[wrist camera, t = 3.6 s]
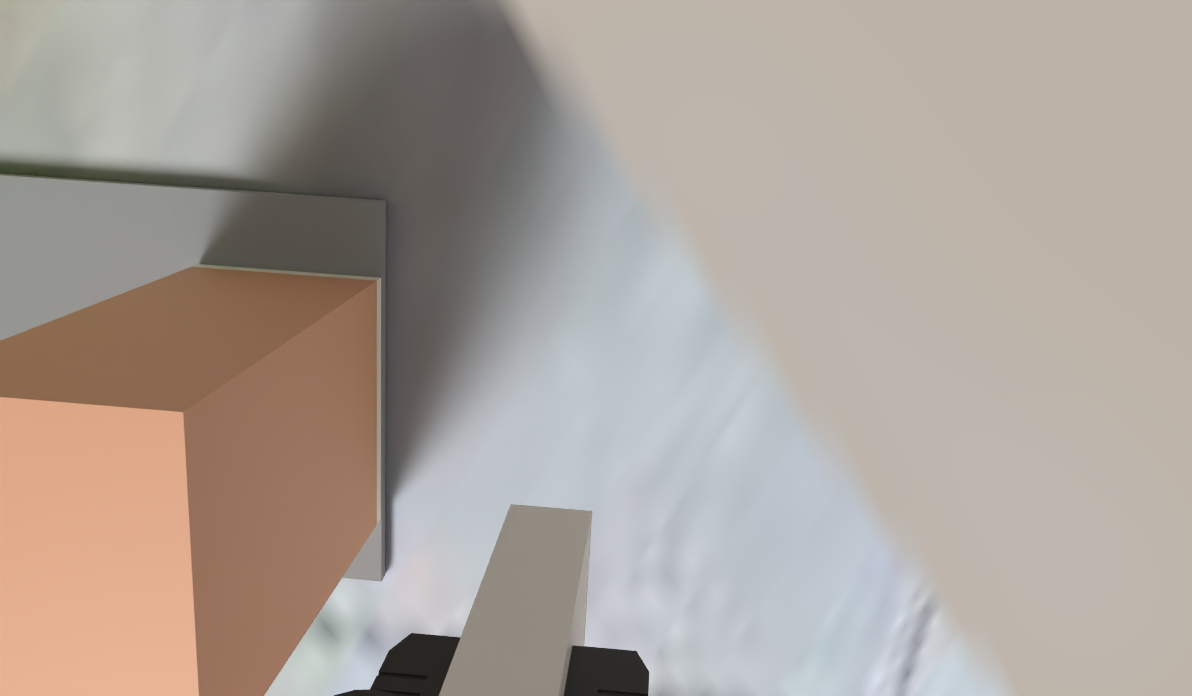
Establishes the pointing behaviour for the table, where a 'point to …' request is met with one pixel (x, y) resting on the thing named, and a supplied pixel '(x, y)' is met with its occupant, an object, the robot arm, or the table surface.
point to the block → (185, 480)
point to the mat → (177, 254)
